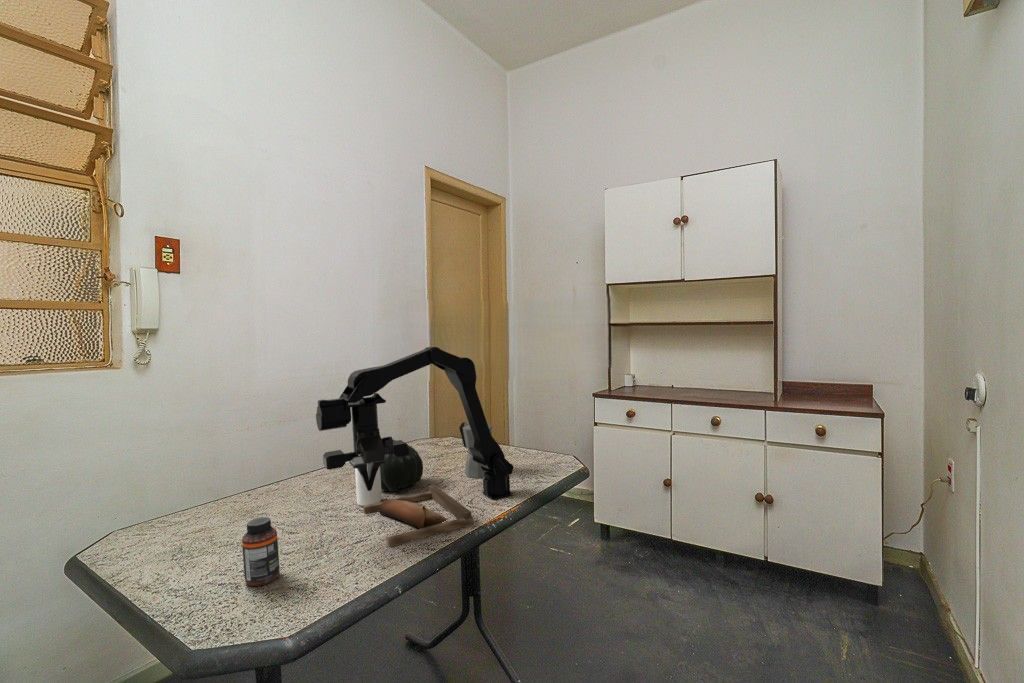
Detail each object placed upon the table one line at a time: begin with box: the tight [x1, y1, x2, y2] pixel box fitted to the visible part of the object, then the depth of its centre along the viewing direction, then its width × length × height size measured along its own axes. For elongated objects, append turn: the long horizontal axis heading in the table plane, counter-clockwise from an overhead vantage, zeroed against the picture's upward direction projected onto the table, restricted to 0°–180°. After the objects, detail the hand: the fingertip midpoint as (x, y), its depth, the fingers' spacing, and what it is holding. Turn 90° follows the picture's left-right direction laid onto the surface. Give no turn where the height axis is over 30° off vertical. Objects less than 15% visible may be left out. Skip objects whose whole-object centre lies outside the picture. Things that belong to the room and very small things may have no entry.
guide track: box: [362, 484, 475, 548], centre depth 117 cm, size 20×24×3 cm
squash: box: [380, 439, 424, 492], centre depth 141 cm, size 14×15×15 cm
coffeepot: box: [458, 421, 493, 479], centre depth 151 cm, size 15×9×18 cm, turn 44°
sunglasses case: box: [378, 499, 448, 529], centre depth 117 cm, size 18×7×7 cm
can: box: [354, 464, 383, 507], centre depth 129 cm, size 6×6×12 cm
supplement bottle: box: [241, 516, 281, 587], centre depth 90 cm, size 6×6×11 cm
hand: (369, 490), depth 111 cm, fingers closed
